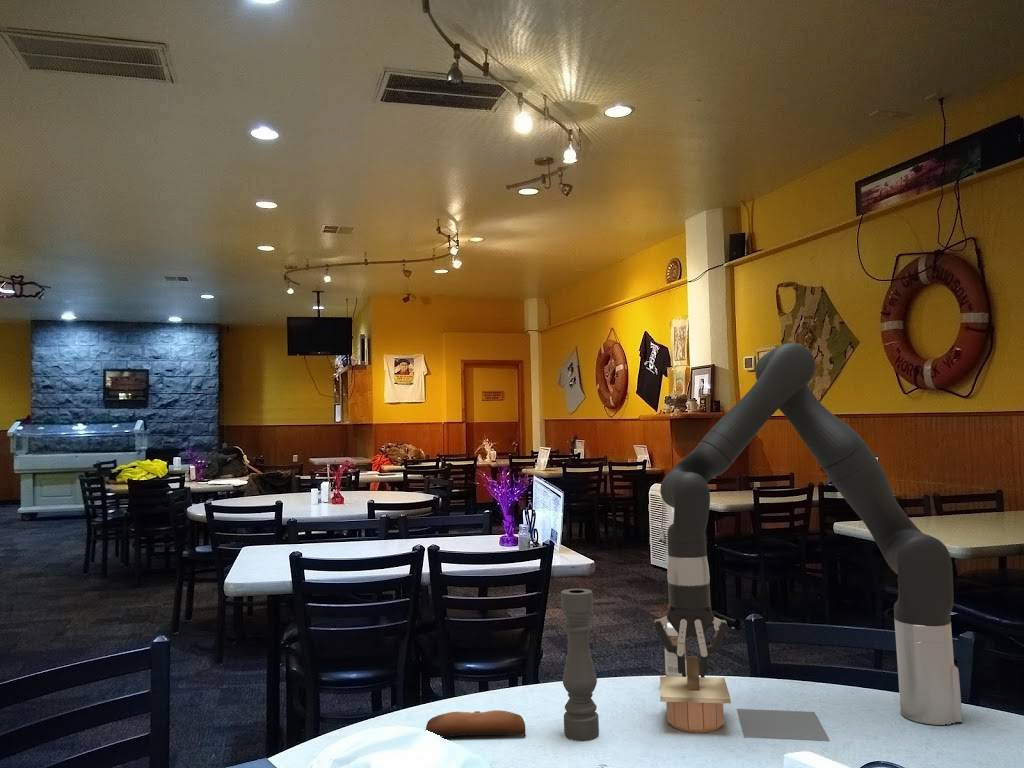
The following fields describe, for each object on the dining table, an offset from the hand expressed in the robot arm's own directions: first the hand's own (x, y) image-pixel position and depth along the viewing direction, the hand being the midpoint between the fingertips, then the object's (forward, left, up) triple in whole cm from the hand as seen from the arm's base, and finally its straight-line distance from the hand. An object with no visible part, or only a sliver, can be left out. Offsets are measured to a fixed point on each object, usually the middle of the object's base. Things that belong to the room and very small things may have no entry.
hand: (693, 675), depth 138 cm
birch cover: (0, 0, -3) cm, 3 cm away
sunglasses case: (+39, +8, -9) cm, 41 cm away
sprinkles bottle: (+3, -19, -9) cm, 21 cm away
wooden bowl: (0, 0, -9) cm, 9 cm away
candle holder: (+20, +7, -9) cm, 23 cm away
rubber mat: (-15, -1, -9) cm, 17 cm away
